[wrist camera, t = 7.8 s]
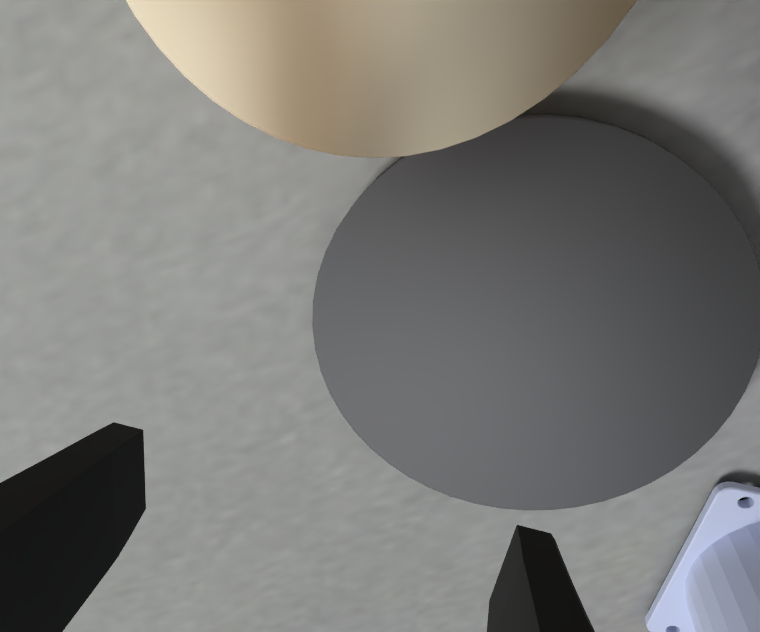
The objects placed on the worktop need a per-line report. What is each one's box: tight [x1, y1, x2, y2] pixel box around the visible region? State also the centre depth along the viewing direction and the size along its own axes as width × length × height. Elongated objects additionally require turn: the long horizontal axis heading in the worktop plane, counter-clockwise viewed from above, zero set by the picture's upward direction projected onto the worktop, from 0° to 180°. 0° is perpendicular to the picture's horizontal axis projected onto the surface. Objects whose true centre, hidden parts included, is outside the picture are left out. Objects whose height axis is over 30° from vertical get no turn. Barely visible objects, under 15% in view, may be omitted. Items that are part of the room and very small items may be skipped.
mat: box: [313, 114, 760, 510], centre depth 20 cm, size 14×14×1 cm
